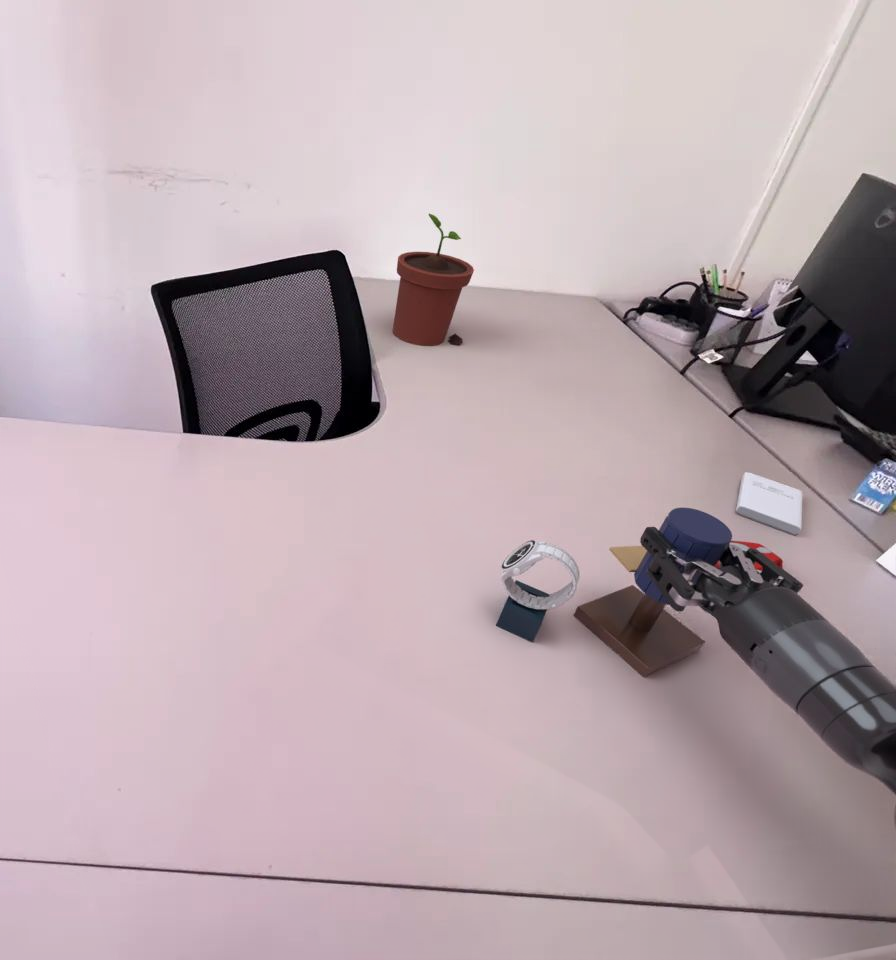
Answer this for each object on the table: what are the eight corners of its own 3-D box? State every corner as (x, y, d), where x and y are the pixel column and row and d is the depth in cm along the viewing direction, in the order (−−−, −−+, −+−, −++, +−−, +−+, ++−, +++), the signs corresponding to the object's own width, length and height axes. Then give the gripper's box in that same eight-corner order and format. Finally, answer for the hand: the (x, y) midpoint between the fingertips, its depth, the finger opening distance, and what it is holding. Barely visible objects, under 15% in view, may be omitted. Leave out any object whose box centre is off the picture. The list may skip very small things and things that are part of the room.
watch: (492, 591, 84) (520, 522, 77) (558, 620, 81) (592, 551, 74) (479, 618, 80) (507, 548, 73) (548, 650, 76) (583, 579, 70)
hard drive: (734, 513, 103) (741, 478, 111) (796, 536, 99) (798, 498, 108) (739, 505, 102) (745, 470, 110) (802, 528, 98) (804, 490, 107)
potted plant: (363, 325, 151) (385, 209, 137) (427, 310, 163) (453, 201, 148) (422, 356, 140) (453, 233, 126) (486, 337, 152) (521, 223, 137)
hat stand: (627, 593, 86) (681, 499, 77) (699, 650, 79) (767, 554, 70) (573, 614, 82) (622, 518, 73) (643, 677, 74) (707, 578, 66)
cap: (704, 604, 74) (746, 542, 69) (656, 607, 73) (695, 544, 68) (649, 547, 81) (683, 487, 76) (605, 549, 80) (637, 488, 75)
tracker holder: (683, 537, 95) (758, 528, 94) (681, 564, 96) (754, 556, 95) (737, 581, 83) (823, 572, 82) (733, 611, 85) (818, 603, 84)
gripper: (884, 617, 60) (744, 502, 73) (748, 627, 57) (628, 506, 71) (835, 671, 64) (711, 554, 78) (706, 683, 62) (600, 559, 75)
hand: (672, 532), depth 74 cm, fingers closed on cap, 6 cm apart
